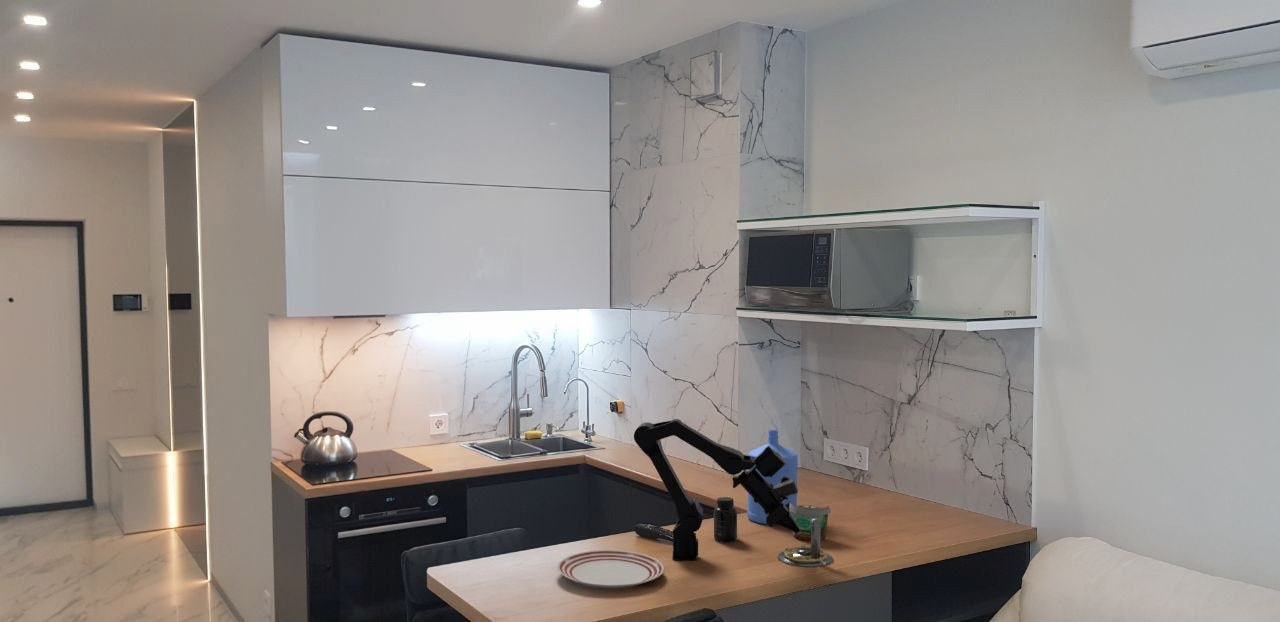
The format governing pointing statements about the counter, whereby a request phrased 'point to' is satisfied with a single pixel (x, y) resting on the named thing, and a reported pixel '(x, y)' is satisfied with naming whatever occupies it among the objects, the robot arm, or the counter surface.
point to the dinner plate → (610, 568)
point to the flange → (805, 552)
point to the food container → (809, 520)
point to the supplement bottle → (725, 520)
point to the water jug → (774, 476)
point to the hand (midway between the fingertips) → (798, 531)
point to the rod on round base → (816, 551)
